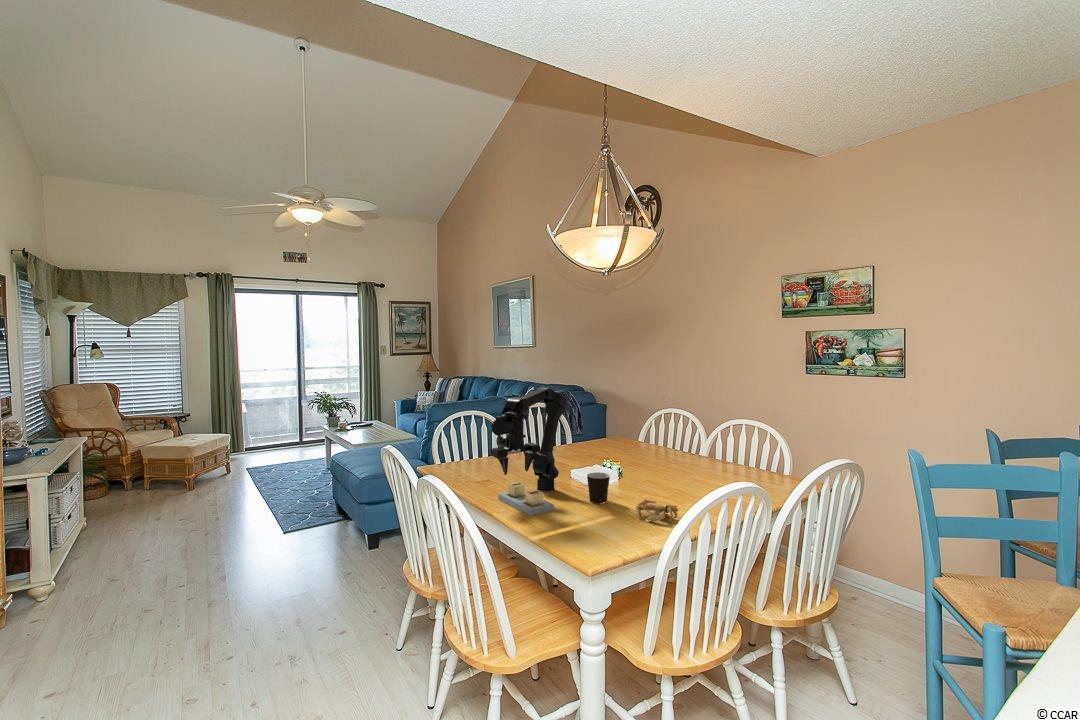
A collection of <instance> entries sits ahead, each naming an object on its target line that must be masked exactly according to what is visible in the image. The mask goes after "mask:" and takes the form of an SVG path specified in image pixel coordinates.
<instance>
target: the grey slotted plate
mask: <svg viewBox="0 0 1080 720" xmlns="http://www.w3.org/2000/svg"><path fill="white" fill-rule="evenodd" d="M526 492H527V491H525V496H523V497H518V498H512V497H510V496H509V495H508V491H507V492H503V493H502V492H500V493H498V494H497V499H498V501H500V502H503V504H504V503H505V504H506V505H508V506H510V507H512V508H514V509H516V510H518V511H519V512H522V513H524V514H526V515H528V516H530V517H532V516H536V515H540V514H544V513H548V512H552V511H554V510H555V505H554V504H553V503H551V502H549V501H547V500H545V499H543V505H540V506H536V507H530V506H528V505H526Z"/></svg>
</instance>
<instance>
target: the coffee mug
mask: <svg viewBox="0 0 1080 720" xmlns="http://www.w3.org/2000/svg"><path fill="white" fill-rule="evenodd" d="M610 477H611V475H610V474H608V473H606V472H597V471H596V472H594V471H593V472H590V473H587V474H586V479H587V485H588V486H587V488H588V496H589V497H588V498H589V502H590V501H591V502H593V503H592V504H594V503H603V502H606V501H607V502H608V495H609V494H608V493H609V485H610V484H609V483H610V480H611V479H610ZM591 502H590V503H591ZM607 502H606V503H607Z"/></svg>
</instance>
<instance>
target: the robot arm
mask: <svg viewBox="0 0 1080 720" xmlns="http://www.w3.org/2000/svg"><path fill="white" fill-rule="evenodd" d="M540 402H542V403H543V404H544V409H545V412H546V416H547V417H546V421H545V426H544V431H543V435H542V440H541V441H542V442H541V446H540V445H539V443H534V442H530V443H529V442H528V443H524V442H525V441H524V439H525V438H526V434H525V433H524V427H525V426H524V423H525V422H524V420H527V419H528V416H527V415H526V413H527V412H528V411H529V409H530V407H531V406H534V405H536V404H538V403H540ZM567 402H568V401H567V399H566V397H565V396H563V395H562V394H561V393H559V392H557V391H555V390H553V389H552V388H551V387H540V388H539V389H536V390H534V391H532V392H529V393H528V394H526V395H523V396H513V397H509V398H508V399H507V400H506V402H505V404H504V407H503V409H502V410H501V413H500V414H499V416H496V417H495V420H494V421H493V422H492V423H491V431H492V433H493V434H494V435H495V436H498V437H496V441H495V443H496V446H497V447H492V449H491V450H490V456H491V457H493V458H494V459H497V460H498V462H499V464H500V466H501V469H502V472H503V474H504V476H507V474H508V470H509V469H508V468H509V457H508V455H511V454H516V453H517V454H518V453H523V455H524V471H525V472H528V471H529V469H530V466H531V464H532V469H533V474H534V476H535V477H537V476H538V478H537V479H536V490H537V491H541V492H550V491H555V479H556V478H557V477H559V474H560V471H559V469H557V466H555V463H556V461H555V460H556V459H555V457H554V453H553V452H554V447H555V442H556V436H557V431H558V426H559V422H560V418H561V417H562V415H563V414H564V413H565V411H566V408H567V404H568V403H567ZM502 435H503V436H504V435H505V438H504V437H503V436H502Z"/></svg>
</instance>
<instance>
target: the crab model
mask: <svg viewBox="0 0 1080 720" xmlns="http://www.w3.org/2000/svg"><path fill="white" fill-rule="evenodd" d="M646 510H647V511H649V512H650V511H653V512H658V513H659V514H653V515H651V516H648V517H647V518H645V521H646V520H648V521H649V520H651V521H654V522H659V521H661V520H662V521H663V520H664V519H665V518H666V514H665V513H669V516H670V517H669V520H671V521H672V520H673V518H675V519H676V518H677V517H678V512H679V509H678V505H672V504H666V505H663V504H661V503H658V502H657V501H653V500H650V499H648V500H647V499H643V500H642V501H640V502H639V503H638V504H637V505H636V506H635V514H636V515H637V517H638V519H639V520H641V518H642V519H643V517H642V512H641V511H646ZM669 520H668V521H669Z"/></svg>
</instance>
